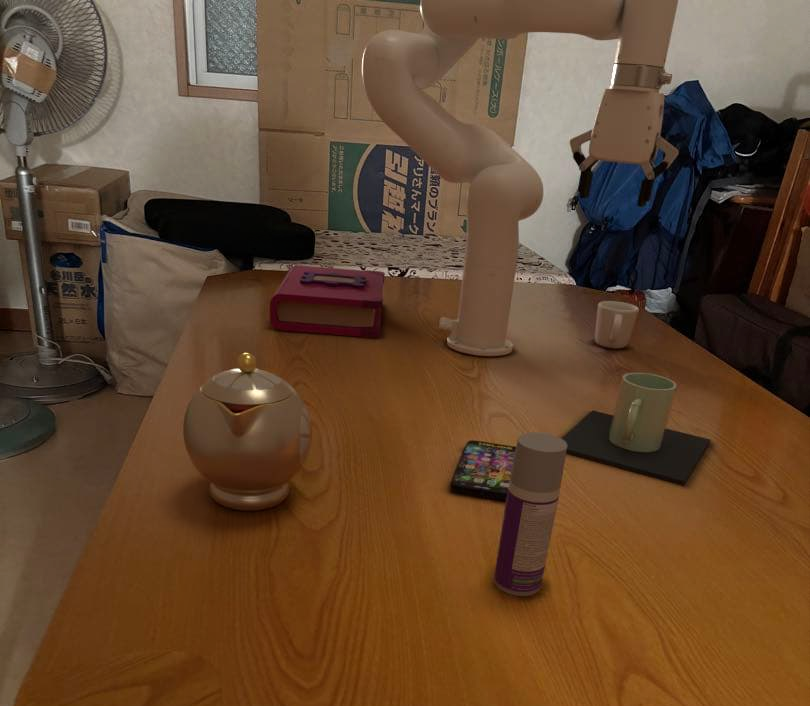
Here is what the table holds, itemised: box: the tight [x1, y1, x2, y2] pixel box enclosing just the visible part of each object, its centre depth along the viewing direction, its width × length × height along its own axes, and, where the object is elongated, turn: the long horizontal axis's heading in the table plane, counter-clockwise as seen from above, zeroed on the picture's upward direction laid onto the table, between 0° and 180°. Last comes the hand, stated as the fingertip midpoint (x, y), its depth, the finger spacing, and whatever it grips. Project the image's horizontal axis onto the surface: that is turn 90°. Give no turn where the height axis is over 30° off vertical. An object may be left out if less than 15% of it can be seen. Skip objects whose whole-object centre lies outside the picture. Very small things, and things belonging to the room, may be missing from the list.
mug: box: [609, 372, 678, 452], centre depth 107 cm, size 10×7×9 cm
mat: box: [561, 410, 712, 486], centre depth 110 cm, size 18×18×1 cm
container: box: [493, 431, 567, 597], centre depth 72 cm, size 5×5×15 cm
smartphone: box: [450, 439, 516, 501], centre depth 98 cm, size 8×1×15 cm
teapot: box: [182, 352, 313, 512], centre depth 85 cm, size 18×14×16 cm
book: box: [269, 264, 386, 339], centre depth 158 cm, size 21×28×8 cm
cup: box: [594, 300, 640, 350], centre depth 154 cm, size 11×8×8 cm
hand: (612, 201), depth 126 cm, fingers open, 9 cm apart
